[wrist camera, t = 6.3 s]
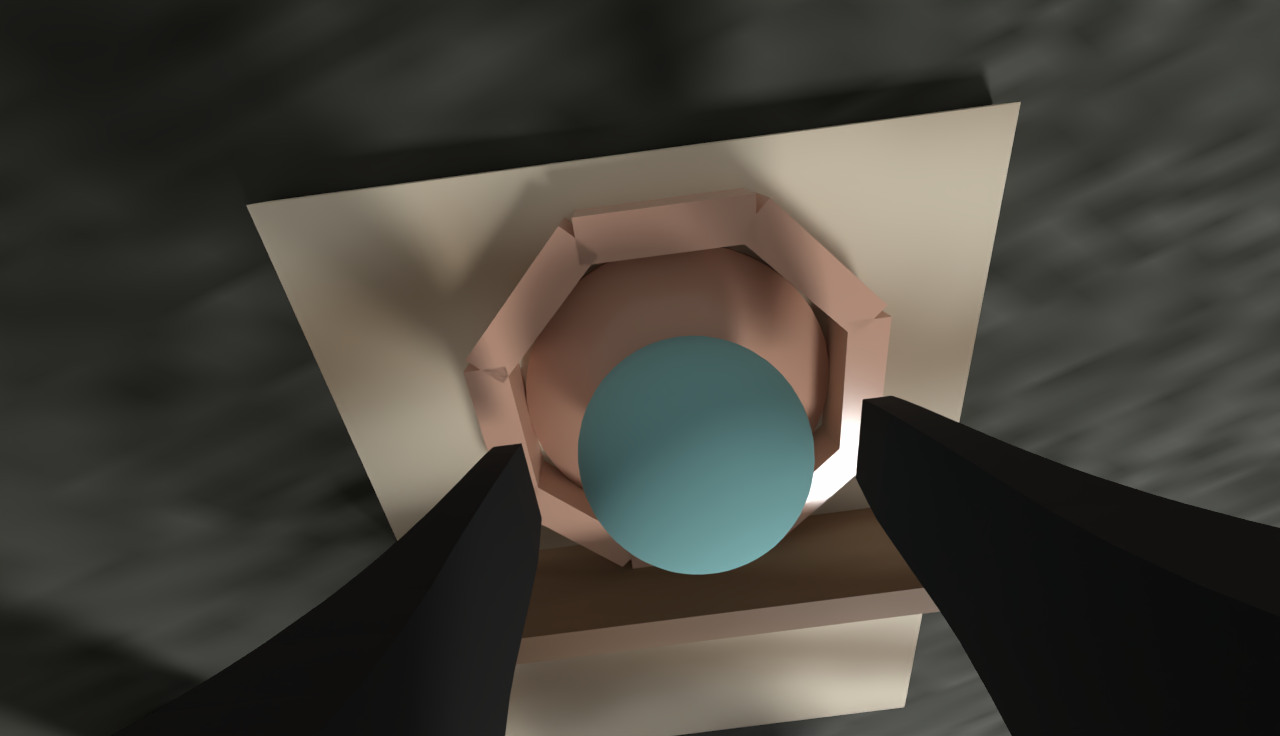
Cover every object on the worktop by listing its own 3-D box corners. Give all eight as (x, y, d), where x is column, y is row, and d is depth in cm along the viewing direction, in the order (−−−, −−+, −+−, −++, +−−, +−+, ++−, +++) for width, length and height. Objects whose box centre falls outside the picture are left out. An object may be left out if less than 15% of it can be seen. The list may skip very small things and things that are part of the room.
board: (894, 687, 21) (949, 796, 17) (498, 736, 21) (476, 854, 17) (994, 104, 11) (1161, 89, 8) (269, 200, 11) (121, 228, 8)
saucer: (849, 510, 15) (867, 539, 14) (534, 550, 15) (528, 582, 14) (878, 169, 11) (907, 173, 10) (440, 227, 11) (421, 237, 10)
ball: (772, 459, 14) (851, 612, 9) (599, 483, 14) (595, 648, 9) (770, 291, 12) (871, 386, 7) (566, 320, 12) (540, 432, 7)
